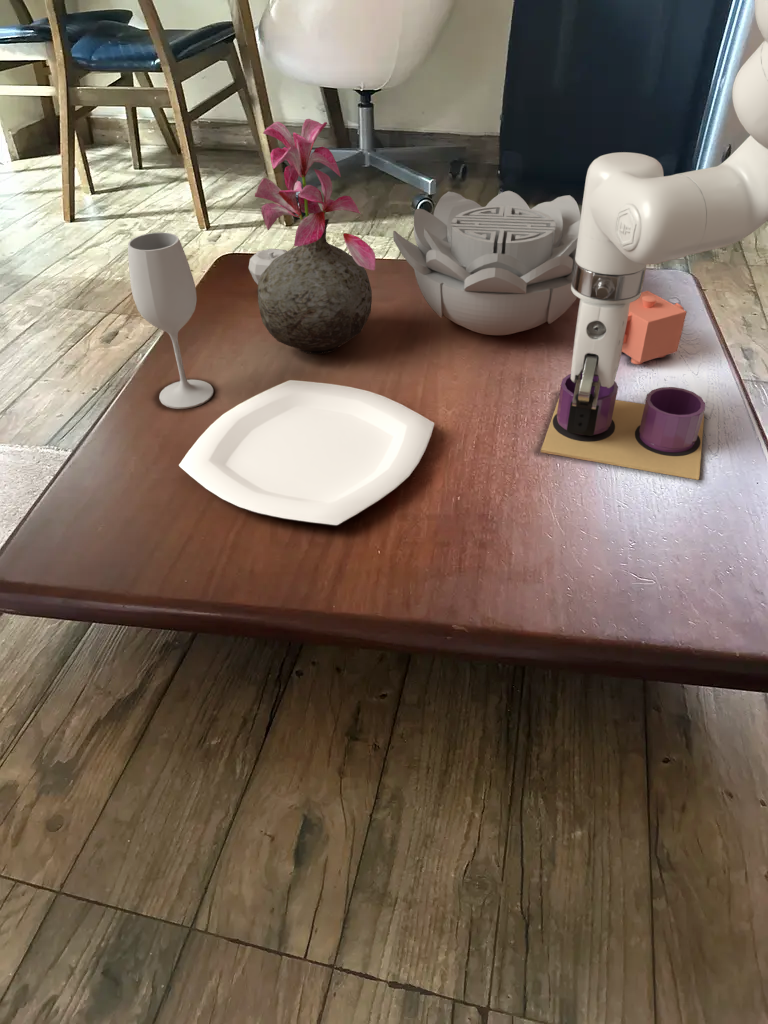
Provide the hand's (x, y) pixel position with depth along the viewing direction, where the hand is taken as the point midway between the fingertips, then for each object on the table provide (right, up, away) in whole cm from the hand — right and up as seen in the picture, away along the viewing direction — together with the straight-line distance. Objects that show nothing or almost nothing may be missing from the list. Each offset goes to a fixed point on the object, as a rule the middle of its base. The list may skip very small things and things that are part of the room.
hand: (585, 415), depth 96 cm
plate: (-34, -5, -2) cm, 34 cm away
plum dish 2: (+9, -3, -2) cm, 10 cm away
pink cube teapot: (+12, +11, +16) cm, 23 cm away
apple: (-43, +25, +35) cm, 61 cm away
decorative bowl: (-8, +17, +24) cm, 30 cm away
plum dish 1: (0, -1, 0) cm, 1 cm away
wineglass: (-52, +4, +10) cm, 53 cm away
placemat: (+5, -2, 0) cm, 5 cm away
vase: (-34, +13, +20) cm, 42 cm away
